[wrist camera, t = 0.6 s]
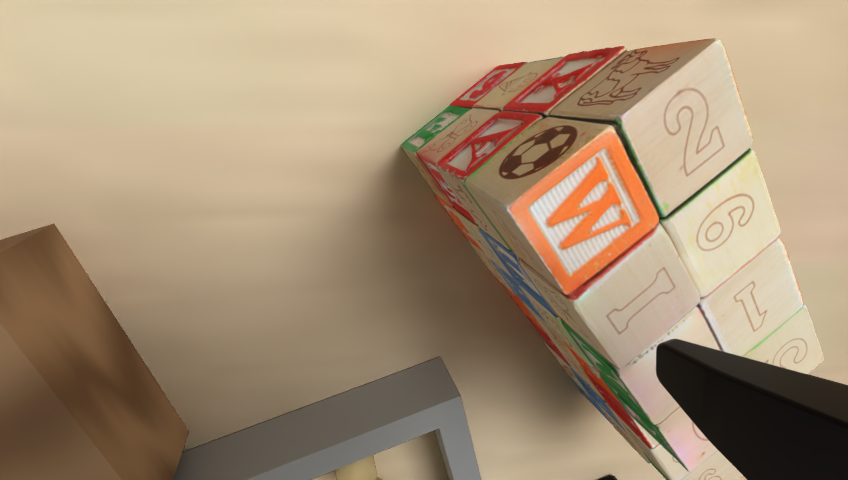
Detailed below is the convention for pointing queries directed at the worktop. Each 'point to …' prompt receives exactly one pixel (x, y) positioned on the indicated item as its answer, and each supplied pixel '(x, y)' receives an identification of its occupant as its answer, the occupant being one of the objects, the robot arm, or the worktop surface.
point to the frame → (345, 433)
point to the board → (73, 376)
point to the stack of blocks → (624, 225)
